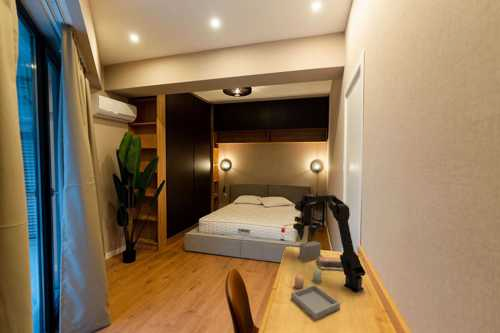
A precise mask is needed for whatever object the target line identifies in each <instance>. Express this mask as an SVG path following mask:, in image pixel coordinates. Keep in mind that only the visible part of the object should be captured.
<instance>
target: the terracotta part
mask: <svg viewBox="0 0 500 333" xmlns="http://www.w3.org/2000/svg"><path fill="white" fill-rule="evenodd" d="M304 279H305V278H304V275H302V274H298V273H297V274H295V275H294V288H295V289H296V290H300V289H303V288H304V283H305V282H304V281H305V280H304Z"/></svg>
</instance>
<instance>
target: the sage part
mask: <svg viewBox="0 0 500 333" xmlns="http://www.w3.org/2000/svg"><path fill="white" fill-rule="evenodd" d="M312 271H313V272H312V282H314V283H317V284H320V283H321V282H322V270H320V268H314V269H313V270H312Z"/></svg>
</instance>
